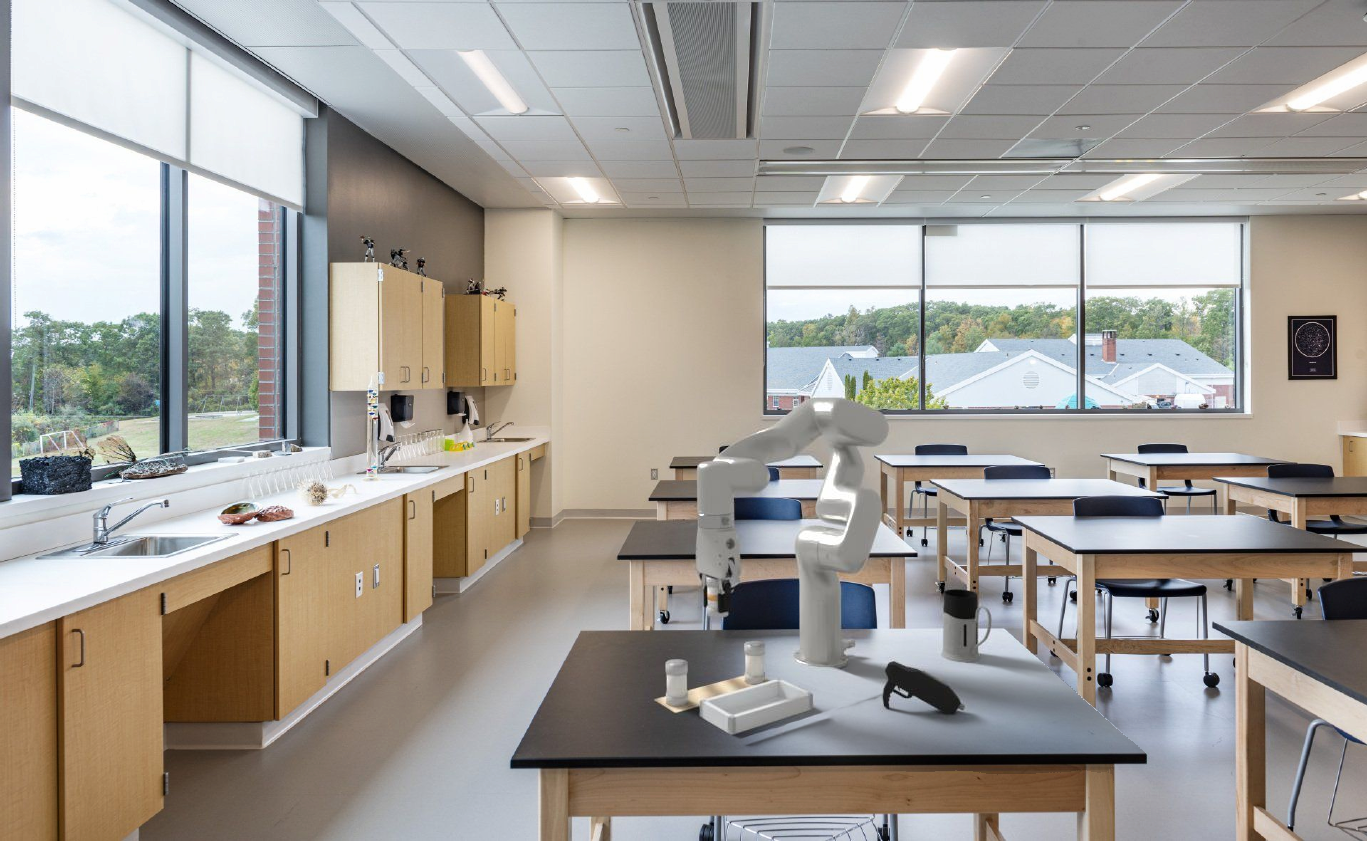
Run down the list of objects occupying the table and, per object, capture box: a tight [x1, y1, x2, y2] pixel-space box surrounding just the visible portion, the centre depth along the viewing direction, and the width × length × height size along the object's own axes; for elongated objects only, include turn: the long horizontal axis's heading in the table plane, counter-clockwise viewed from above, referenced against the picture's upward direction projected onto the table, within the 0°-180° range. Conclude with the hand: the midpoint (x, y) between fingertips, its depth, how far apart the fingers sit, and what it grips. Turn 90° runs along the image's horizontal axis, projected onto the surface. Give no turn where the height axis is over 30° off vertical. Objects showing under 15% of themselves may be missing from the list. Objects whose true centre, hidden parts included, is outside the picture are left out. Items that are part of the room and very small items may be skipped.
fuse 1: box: [665, 658, 689, 707], centre depth 156 cm, size 4×4×8 cm
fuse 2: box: [743, 640, 766, 685], centre depth 167 cm, size 4×4×8 cm
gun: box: [882, 660, 966, 716], centre depth 154 cm, size 3×16×10 cm, turn 79°
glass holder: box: [940, 588, 992, 663], centre depth 182 cm, size 9×14×15 cm, turn 21°
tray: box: [699, 678, 814, 736], centre depth 151 cm, size 20×10×4 cm, turn 124°
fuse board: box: [653, 674, 772, 714], centre depth 162 cm, size 26×8×1 cm, turn 124°
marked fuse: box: [706, 575, 729, 619], centre depth 161 cm, size 4×4×8 cm
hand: (717, 608), depth 162 cm, fingers closed on marked fuse, 4 cm apart
